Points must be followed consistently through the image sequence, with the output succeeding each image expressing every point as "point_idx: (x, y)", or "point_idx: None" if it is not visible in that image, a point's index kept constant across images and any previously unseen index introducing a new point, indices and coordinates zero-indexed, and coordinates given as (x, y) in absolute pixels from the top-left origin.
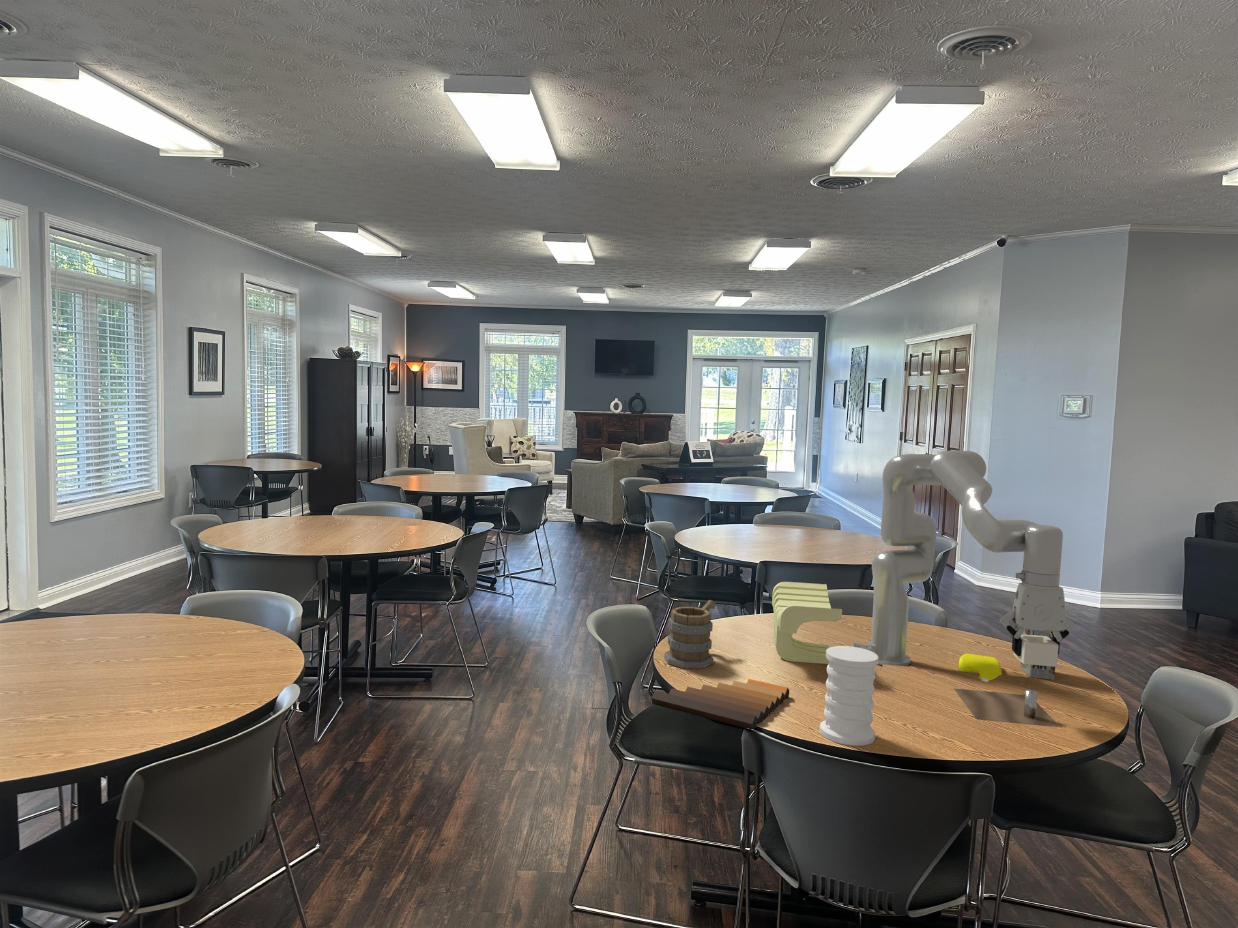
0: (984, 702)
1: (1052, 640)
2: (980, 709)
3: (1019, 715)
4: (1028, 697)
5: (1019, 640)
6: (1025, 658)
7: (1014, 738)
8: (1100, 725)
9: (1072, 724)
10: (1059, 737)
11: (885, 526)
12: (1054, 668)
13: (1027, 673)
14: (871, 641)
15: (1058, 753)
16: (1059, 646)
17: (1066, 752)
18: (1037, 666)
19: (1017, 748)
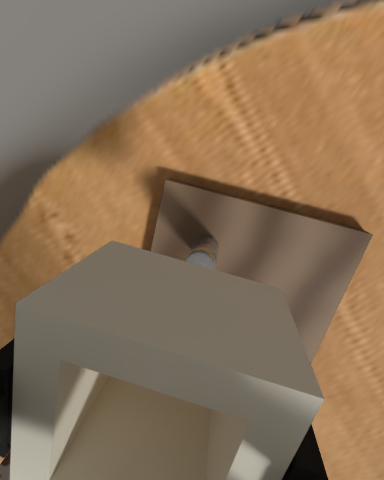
0: None
1: (11, 415)
2: (310, 292)
3: (229, 253)
4: (213, 258)
5: (312, 459)
6: (277, 303)
7: (314, 147)
8: (50, 224)
9: (109, 230)
10: (186, 156)
11: None
12: (8, 454)
13: None
14: None
15: (256, 48)
16: (1, 349)
17: (228, 57)
18: None
19: (355, 77)
